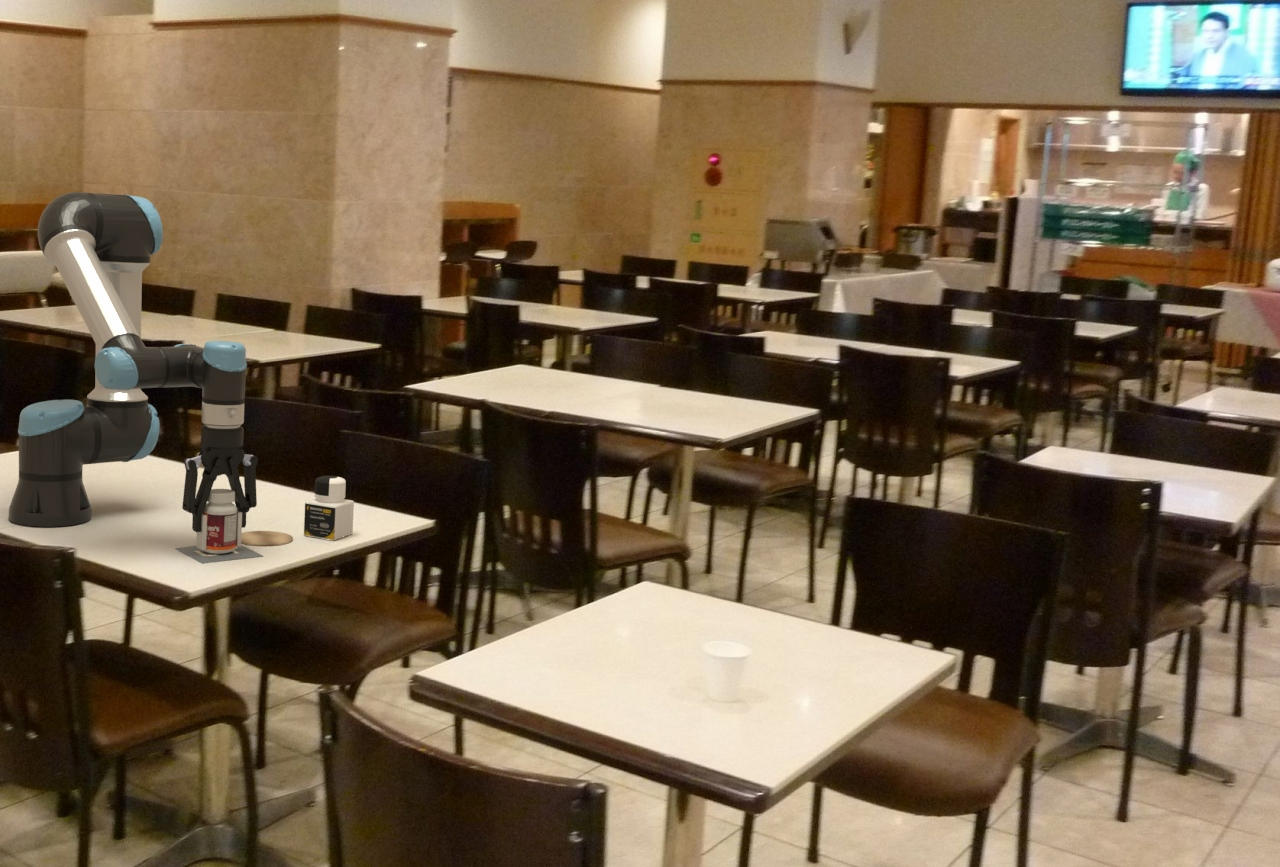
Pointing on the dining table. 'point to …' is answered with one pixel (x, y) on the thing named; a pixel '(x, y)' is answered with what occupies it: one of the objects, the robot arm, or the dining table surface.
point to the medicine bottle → (329, 510)
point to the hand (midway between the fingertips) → (218, 546)
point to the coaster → (265, 538)
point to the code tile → (206, 557)
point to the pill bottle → (221, 521)
